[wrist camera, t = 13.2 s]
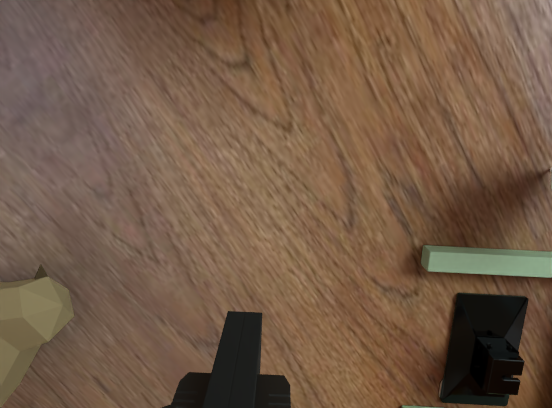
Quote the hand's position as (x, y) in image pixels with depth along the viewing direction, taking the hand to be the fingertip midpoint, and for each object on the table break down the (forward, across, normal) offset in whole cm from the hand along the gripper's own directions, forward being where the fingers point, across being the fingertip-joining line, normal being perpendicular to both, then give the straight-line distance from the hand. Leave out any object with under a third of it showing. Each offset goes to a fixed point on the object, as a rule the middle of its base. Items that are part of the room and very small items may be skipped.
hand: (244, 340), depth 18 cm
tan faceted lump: (+22, -24, -11) cm, 34 cm away
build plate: (+22, +23, -13) cm, 35 cm away
